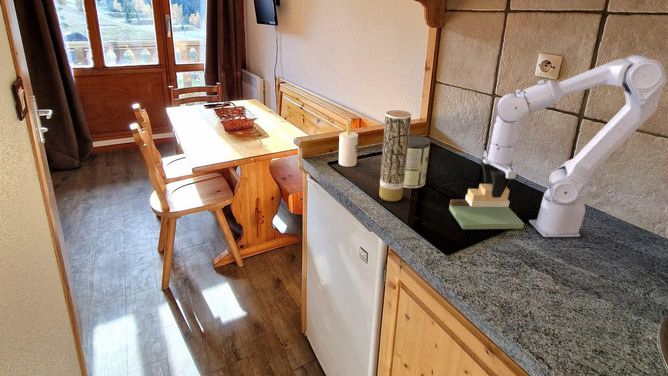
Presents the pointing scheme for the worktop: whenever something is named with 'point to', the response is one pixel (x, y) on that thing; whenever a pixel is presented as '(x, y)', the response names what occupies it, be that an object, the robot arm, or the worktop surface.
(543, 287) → the worktop surface
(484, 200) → the wooden step block
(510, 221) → the green board
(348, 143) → the candle
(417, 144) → the coffee can
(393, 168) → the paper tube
